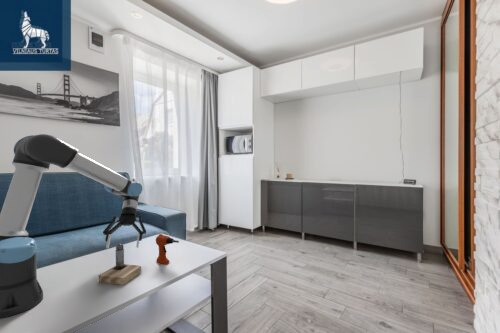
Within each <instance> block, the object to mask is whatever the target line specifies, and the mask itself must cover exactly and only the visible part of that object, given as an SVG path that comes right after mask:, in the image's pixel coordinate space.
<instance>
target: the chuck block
mask: <svg viewBox="0 0 500 333" xmlns="http://www.w3.org/2000/svg"><path fill="white" fill-rule="evenodd" d="M141 273H142V266H141V265H137V264H127V263H126V264H125V263H124V269H122V270H116V265H115V266H113V267H110V268H109V269H107V270H106V271H104V272H102V273H100V274H99V275H98V283H101V284H112V285H119V286H120V285H121V286H124V285H125V284H126V283H128V282H129V281H131V280H132V279H133V278H135V277H137V276H138V275H139V274H141Z"/></svg>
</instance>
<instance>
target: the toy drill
mask: <svg viewBox="0 0 500 333" xmlns="http://www.w3.org/2000/svg"><path fill="white" fill-rule="evenodd" d="M179 242H180V241H179V240H175V239H174V238H172V237H170V236H168V235H165V234H162V233H159V234H158V235H157V236H156V237H155V244H156V245H157V246H158V257H156V261H155V262H156V263H157V264H158V265H161V266H165V265H168V264H169V263H170V260H169V259H168V257H167V249H166V245H170V244H173V243H177V244H179Z"/></svg>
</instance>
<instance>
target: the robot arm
mask: <svg viewBox="0 0 500 333" xmlns="http://www.w3.org/2000/svg"><path fill="white" fill-rule="evenodd" d="M13 153H14V156H13V160H12V165H13V167H14V168H15V169H14V172H13V175H12V178H11V181H10V184H9V187H8V189H7V190H8V191H7V192H6V196H5V199H4V202H3V205H2V207H1V210H0V319H3V318H7V317H12V316H15V315H18V314H20V313H21V314H22V313H23V312H25V311H28V310H30V309H32V308H34V307H36V306H38V305H39V304H40V303H41V302H42V300H43V299H44V290H43V289H42V287H41V285H40V283H39V281H38V279H37V278H38V276H37V275H38V274H37V270H38V268H37V266H38V265H37V251H38V247H37V242H36V240H35V239H33V238H32V237H29V232H28V231H27V230H26V227H27V225H28V221H29V218H30V215H31V212H32V209H33V205H34V202H35V199H36V196H37V192H38V190H39V186H40V182H41V181H42V180H41V179H42V177H43V173H45V172H47V171H49V169H50V167H51V165H54V166H57V167H59V168H61V169H70V170H72V171H74V172H76V173H78V174H81V175H82V176H85V177H87V178H89V179H92V180H94V181H96V182H98V183H99V184H102V185H104V186H103V189H104V190H105V191H107V192H108V193H110V194H113V195H115V196H118V197H120V198H123V203H122V207H121V211H120V217H116V216H113V218H112V220H111V221H110V222H109V224H108V225H107V226H106V227H105V229H104V230H103V231H102V234H103V235H104V236H105V239H104V241H105V242H106V245H105V248H106V249H107V250H108V249H109V248H110V245H111V239H112V234H113V233H115V232H116V231H117V230H118V229H119V228H121V227H122V226H124V227H126V226H128V227H130V226H132V227H133V228H134V229H135V230H136V232H137V239H136V248H139V246H140V242H141V241H142V239H143V235H146V234H147V229H146V228H145V225H144V223H143V221H142V220H143V219H142V216H140V215H139V217H137V210H138V206H139V204H138V203H139V198H140V195H141V194H142V192H143V190H144V189H143V185H142V183H141V182H138V181H133V180H131V179H129V178H127V177H125V176H123V175H121V174H120V173H118V172H116V171H114V170H112V169H110V168H108V167H106V166H104V165H103V164H101V163H99V162H98V161H95V160H94V159H92V158H90V157H87V156H86V155H83V154H82V153H80V152H79V149H78V148H76V147H74V146H72V145H70V144H69V143H67V142H65V141H64V140H61V139H60V138H57V137H56V136H54V135H49V134H44V133H41V134H35V135H34V134H33V135H27V136H24V137H22V138H20V139H18V140H17V141H16V142H15V144H14V147H13ZM118 221H119V222H118ZM136 221H137V223H139V226H140V228H141V229H140V228H139V226H138V225H137V224H136ZM117 222H118V223H117ZM116 223H117V224H116ZM115 224H116V225H115Z"/></svg>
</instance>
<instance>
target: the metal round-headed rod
mask: <svg viewBox="0 0 500 333" xmlns="http://www.w3.org/2000/svg"><path fill="white" fill-rule="evenodd" d="M124 247H125V246H124V244H122V243H119V244H117V245H116V246H115V266H116V270H122V269H124V264H125V248H124Z"/></svg>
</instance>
